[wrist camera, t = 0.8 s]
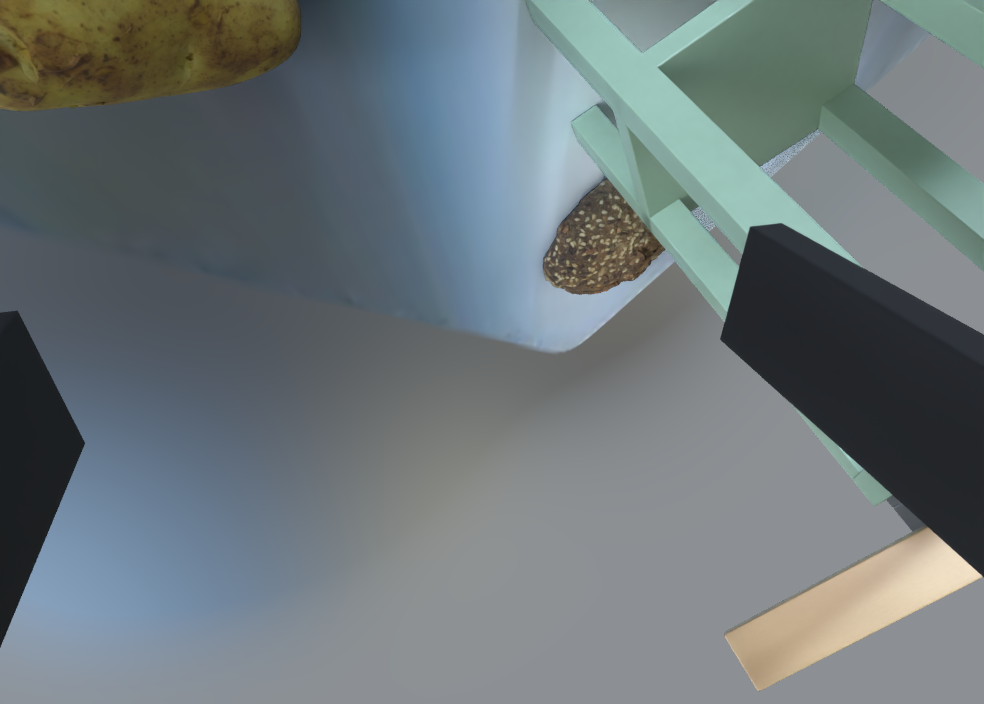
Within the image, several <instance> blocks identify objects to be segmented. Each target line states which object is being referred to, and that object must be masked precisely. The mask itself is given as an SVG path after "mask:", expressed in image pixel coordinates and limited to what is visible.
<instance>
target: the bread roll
mask: <svg viewBox="0 0 984 704" xmlns="http://www.w3.org/2000/svg"><path fill="white" fill-rule="evenodd" d="M663 251H665V248H664V247H663V246H662V245H661V243H660V242H659V241H658V240H657V238H656V237H655V236H654V235H653V234H652V232H651V231H650V230H649V229H648V227H647V226H646V225H645V224H644V222H643V221H642V220H641V219H640V218H639V216H638V215H637V214H636V213H635V211H634V210H633V209H632V208H631V206H630V205H629V204H628V203H627V202H626V200H625V199H624V198H623V197H622V195H621V194H620V193H619V192H618V190H617V189H616V188H615V187H614V186H613V184H612V183H611V182H610V181H609V179H606V180H603V181H602V182H601V183H600V184H599V185H598V186H597V187H596V188H595V189H593V190H592V191H591V192H590V193H588V194H587V195H586V196H585V197H584V198H583V199H582V200H580V203H579V205H578V206H577V207H576V208H575V209H574V210H573V211H572V212H571V213H570V214H569V215H568V216H567V217H566V218H565V219H564V220H563V221H562V223H561V224H560V226H559V227H558V229H557V236H556V238H555V240H554V242H553V244H552V245H551V247H550V249H549V250H548V252H547V254H546V255H545V257H544V259H543V269H544V275H545V280H546V281H550V282H551V284H552V285H553V286H555V287H557V288H562V289H565V290H566V291H567V292H570V293H572V294H579V295H582V294H595V293H601V292H603V291H608V290H609V289H610V288H612V287H615V286H617V285H619V284H620V283H621V282H623V281H633V280H635V279H636V278H638V277H639V275H640V274H642V273H643V272H644V271H645V270H646V268H647V267H648V266H649V265H650V264H651V262H652V260H655V259H656V258H657V257H658V256H659V255H660V254H661V253H662V252H663Z"/></svg>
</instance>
